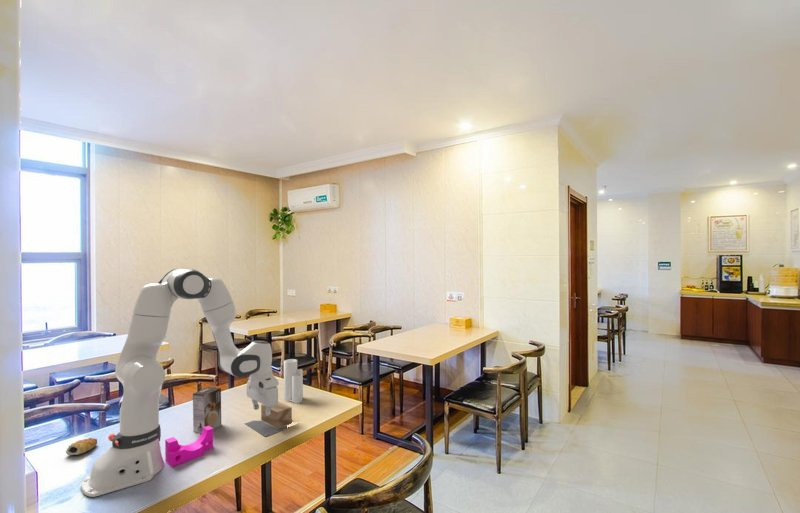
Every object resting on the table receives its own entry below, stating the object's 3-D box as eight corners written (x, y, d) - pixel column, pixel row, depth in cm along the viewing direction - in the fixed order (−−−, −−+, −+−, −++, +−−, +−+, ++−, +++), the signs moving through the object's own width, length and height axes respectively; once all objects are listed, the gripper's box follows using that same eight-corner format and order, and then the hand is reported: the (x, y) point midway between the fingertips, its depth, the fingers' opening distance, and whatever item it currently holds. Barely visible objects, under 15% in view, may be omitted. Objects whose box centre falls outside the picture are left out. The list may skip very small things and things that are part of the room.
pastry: (87, 443, 149) (86, 433, 149) (103, 443, 148) (102, 433, 148) (63, 456, 140) (63, 445, 140) (81, 456, 139) (80, 445, 139)
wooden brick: (276, 429, 160) (276, 412, 160) (261, 420, 168) (261, 404, 168) (291, 423, 165) (291, 407, 165) (275, 415, 174) (275, 400, 174)
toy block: (171, 466, 132) (171, 445, 132) (165, 460, 137) (165, 439, 137) (216, 450, 144) (215, 430, 144) (209, 445, 148) (208, 425, 148)
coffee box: (210, 423, 167) (210, 386, 167) (221, 425, 165) (221, 387, 165) (192, 432, 158) (192, 393, 158) (204, 434, 156) (204, 394, 156)
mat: (265, 437, 153) (265, 436, 153) (244, 424, 165) (244, 423, 165) (326, 414, 176) (326, 413, 176) (303, 404, 188) (303, 403, 188)
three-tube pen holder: (281, 401, 192) (280, 361, 192) (291, 397, 198) (291, 358, 198) (297, 406, 186) (297, 364, 186) (308, 401, 192) (307, 361, 192)
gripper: (242, 375, 166) (242, 407, 166) (266, 386, 153) (267, 421, 153) (256, 372, 171) (256, 403, 171) (280, 382, 157) (281, 415, 157)
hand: (261, 411), depth 162 cm, fingers open, 8 cm apart
